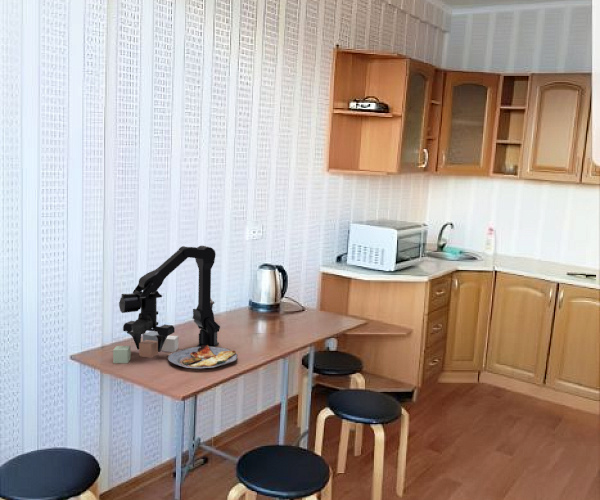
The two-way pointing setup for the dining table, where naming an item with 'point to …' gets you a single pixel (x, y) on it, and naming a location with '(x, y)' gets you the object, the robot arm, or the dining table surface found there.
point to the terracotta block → (148, 348)
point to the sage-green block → (121, 354)
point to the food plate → (203, 357)
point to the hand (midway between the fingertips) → (148, 350)
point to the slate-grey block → (150, 336)
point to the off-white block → (170, 344)
